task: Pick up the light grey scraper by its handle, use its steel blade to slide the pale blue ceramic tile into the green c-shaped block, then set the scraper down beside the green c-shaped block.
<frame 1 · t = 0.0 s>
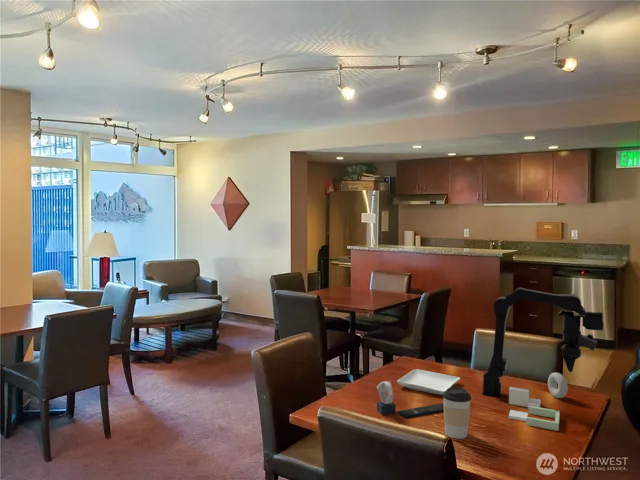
hand: (570, 368, 186), 15 cm above the table, tool pointing down, fingers open, 9 cm apart
green c-shaped block: (542, 421, 173), on the table
coffee cup: (456, 434, 162), on the table
scraper: (518, 404, 189), on the table
donut: (557, 398, 196), on the table
tile: (518, 418, 177), on the table
abstract loop sculpture: (385, 411, 181), on the table
salad plate: (429, 387, 209), on the table
remote control: (428, 413, 182), on the table
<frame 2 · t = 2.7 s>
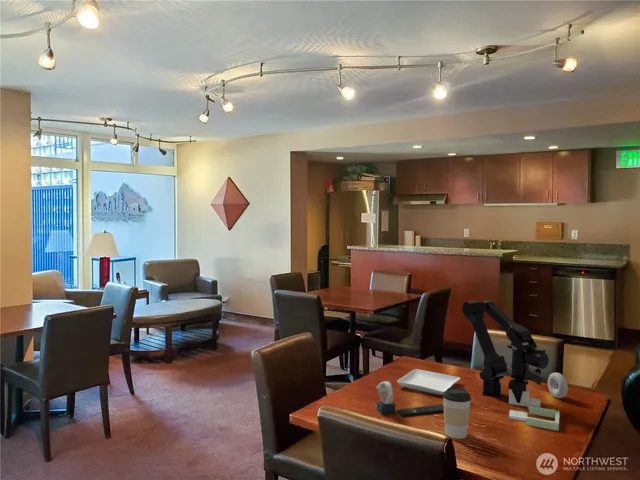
hand: (518, 401, 189), 1 cm above the table, tool pointing down, fingers closed on scraper, 2 cm apart
scraper: (518, 404, 189), on the table, touching gripper
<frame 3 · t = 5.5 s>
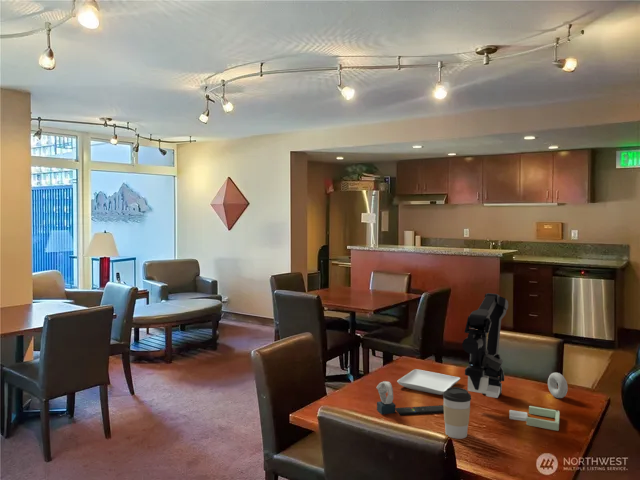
hand: (477, 388, 183), 8 cm above the table, tool pointing down, fingers closed on scraper, 2 cm apart
scraper: (477, 391, 183), point 7 cm above the table, touching gripper
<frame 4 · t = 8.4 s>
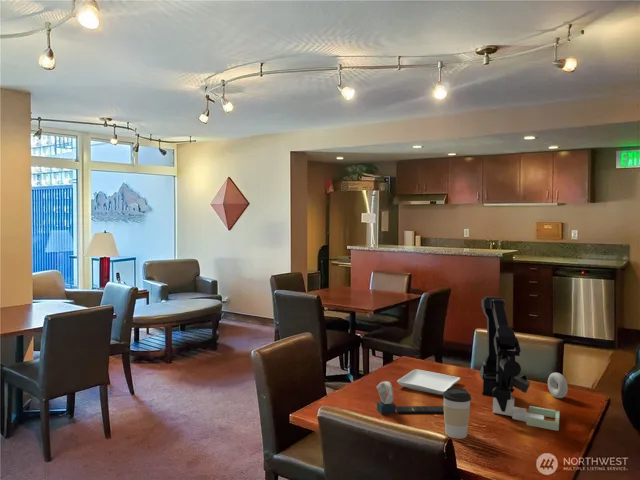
hand: (503, 410, 179), 2 cm above the table, tool pointing down, fingers closed on scraper, 2 cm apart
scraper: (503, 413, 179), on the table, touching gripper
tile: (534, 420, 174), on the table
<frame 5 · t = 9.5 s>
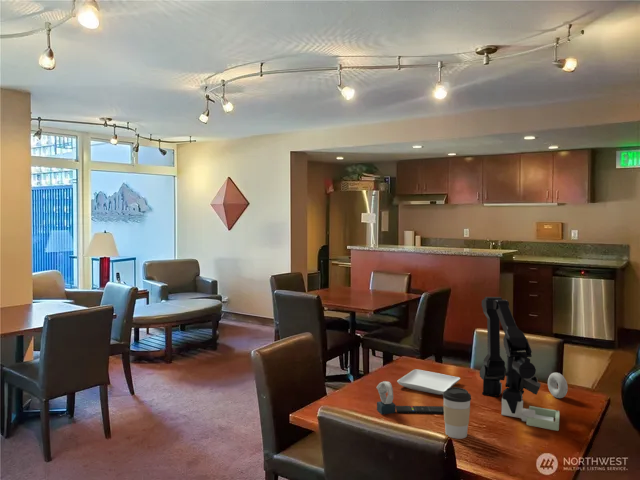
hand: (513, 411, 177), 1 cm above the table, tool pointing down, fingers closed on scraper, 2 cm apart
scraper: (512, 415, 178), on the table, touching gripper
tile: (543, 423, 173), on the table
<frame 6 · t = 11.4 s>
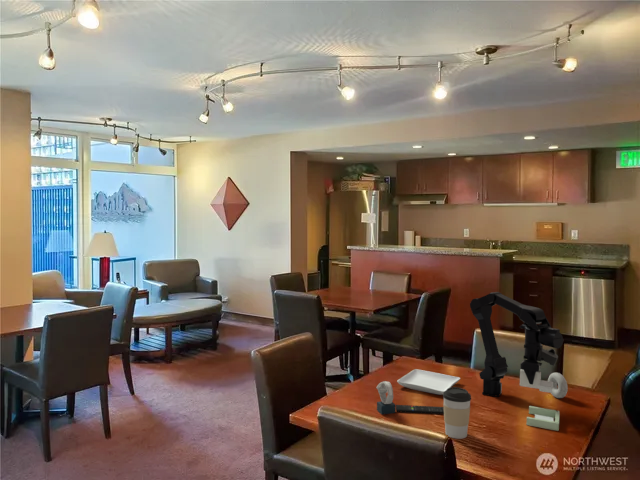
hand: (531, 383, 184), 10 cm above the table, tool pointing down, fingers closed on scraper, 2 cm apart
scraper: (530, 386, 184), point 9 cm above the table, touching gripper
when the fingers open (3 cm above the table, at t = 13.2 s): scraper drops 1 cm, on the table.
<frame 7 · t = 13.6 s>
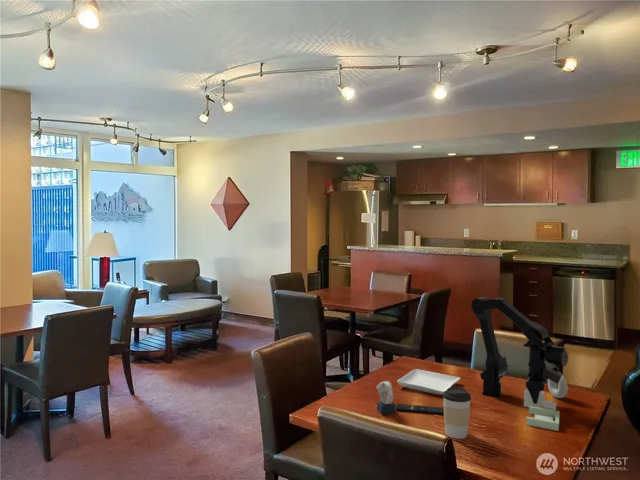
hand: (535, 400, 186), 2 cm above the table, tool pointing down, fingers open, 6 cm apart
scraper: (534, 406, 186), on the table
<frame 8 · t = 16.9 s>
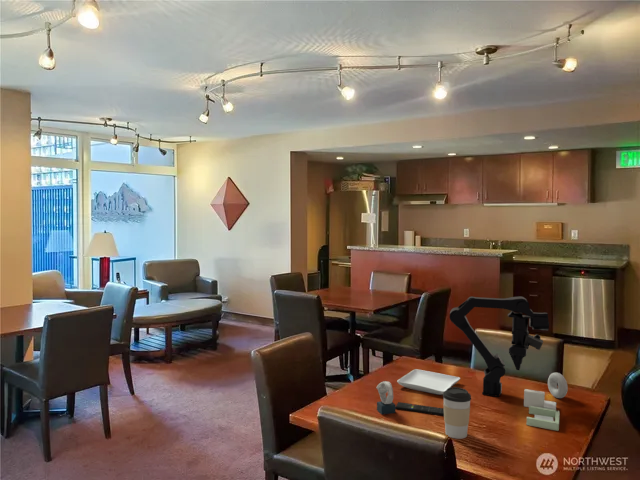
hand: (519, 366, 197), 12 cm above the table, tool pointing down, fingers open, 9 cm apart
at the end: tile 1.0 cm from the target spot on the green c-shaped block, point -0.5 cm above the green c-shaped block's base; the gripper is holding nothing; scraper inside the target area (0.6 cm from its centre), on the table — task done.
